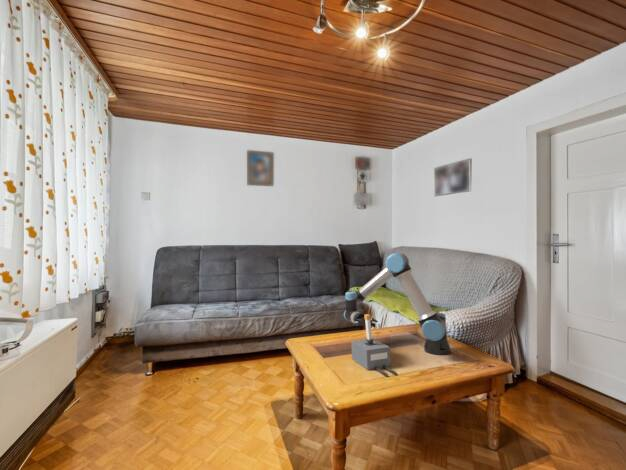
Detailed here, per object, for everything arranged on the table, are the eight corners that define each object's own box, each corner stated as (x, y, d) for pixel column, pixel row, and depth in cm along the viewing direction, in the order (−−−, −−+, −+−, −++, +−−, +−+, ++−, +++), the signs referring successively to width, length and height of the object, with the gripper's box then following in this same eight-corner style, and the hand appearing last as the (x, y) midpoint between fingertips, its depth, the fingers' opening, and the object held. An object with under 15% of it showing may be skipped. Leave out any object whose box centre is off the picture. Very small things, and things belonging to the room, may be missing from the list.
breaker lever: (366, 342, 159) (363, 314, 160) (370, 341, 160) (367, 314, 161) (369, 344, 156) (366, 315, 157) (373, 343, 157) (370, 315, 158)
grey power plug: (352, 359, 163) (351, 341, 164) (373, 356, 168) (372, 338, 169) (379, 378, 136) (378, 356, 137) (404, 374, 140) (402, 352, 141)
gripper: (368, 323, 179) (389, 332, 157) (349, 325, 175) (369, 334, 153) (367, 311, 180) (389, 318, 157) (349, 313, 175) (368, 320, 153)
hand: (379, 326), depth 155 cm, fingers closed
